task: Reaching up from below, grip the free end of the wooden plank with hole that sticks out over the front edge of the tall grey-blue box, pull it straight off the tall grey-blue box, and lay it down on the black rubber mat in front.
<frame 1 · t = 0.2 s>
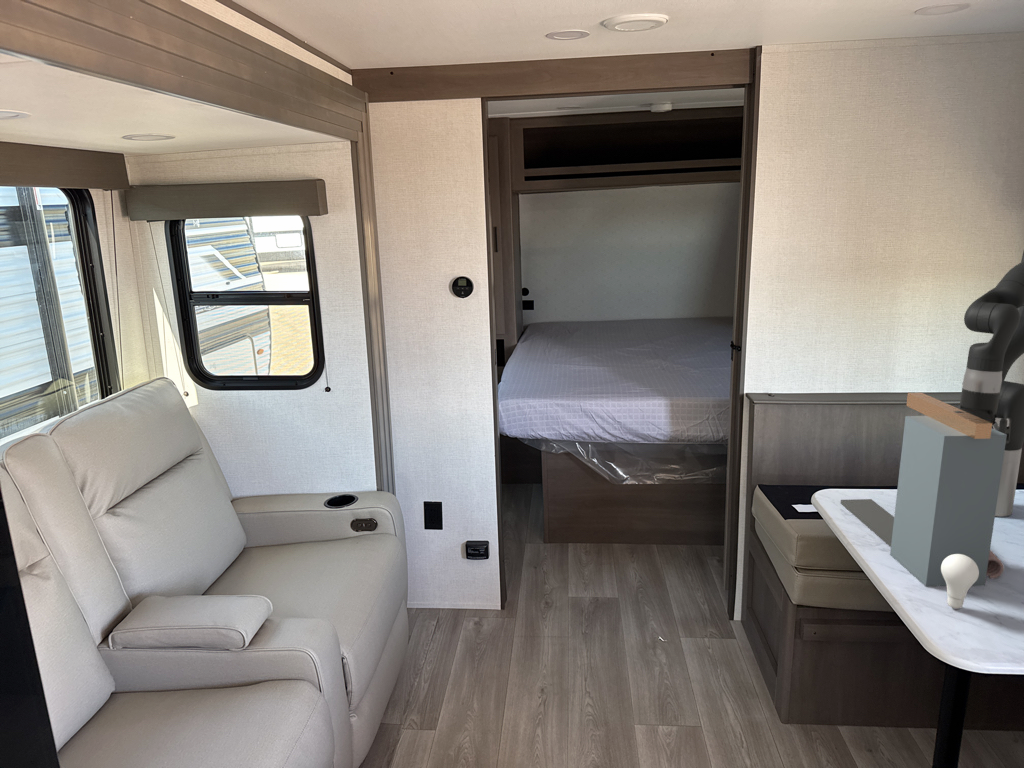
hand: (971, 454, 171), 17 cm above the table, fingers open, 8 cm apart
wooden plank with hole: (945, 420, 148), point 32 cm above the table, touching tall grey-blue box
lightbulb: (954, 609, 138), on the table
coil: (973, 560, 157), on the table
rubber mat: (880, 523, 175), on the table
tall grey-blue box: (935, 569, 153), on the table
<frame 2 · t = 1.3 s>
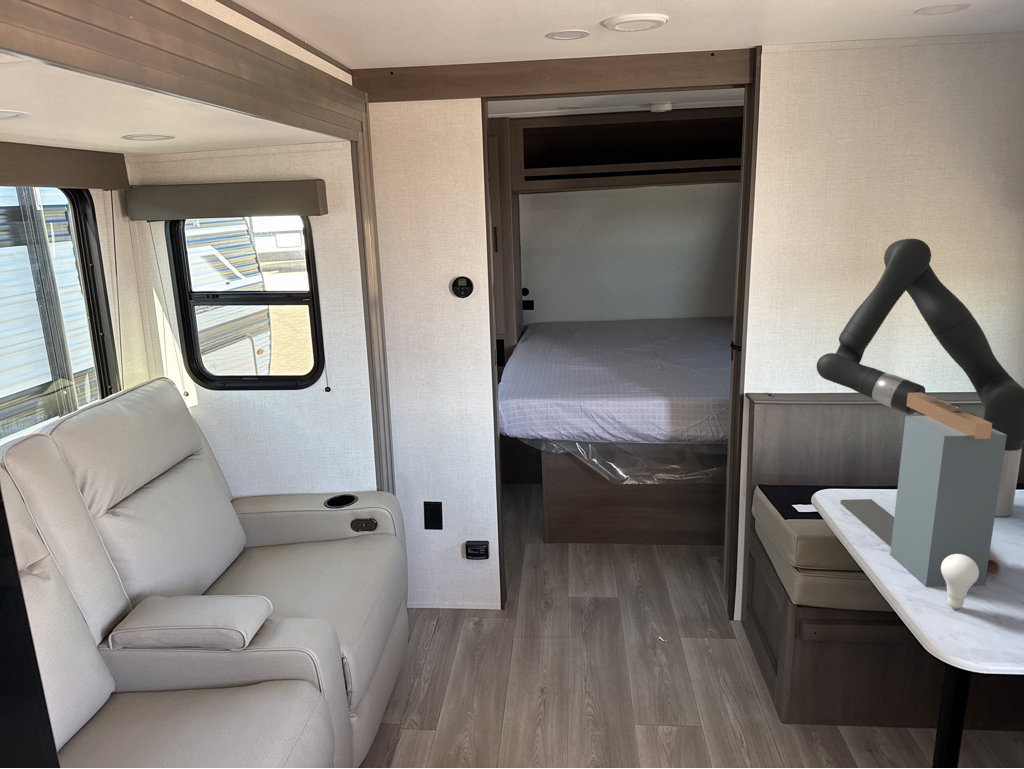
hand: (968, 421, 162), 28 cm above the table, fingers open, 8 cm apart
nothing on the table moved.
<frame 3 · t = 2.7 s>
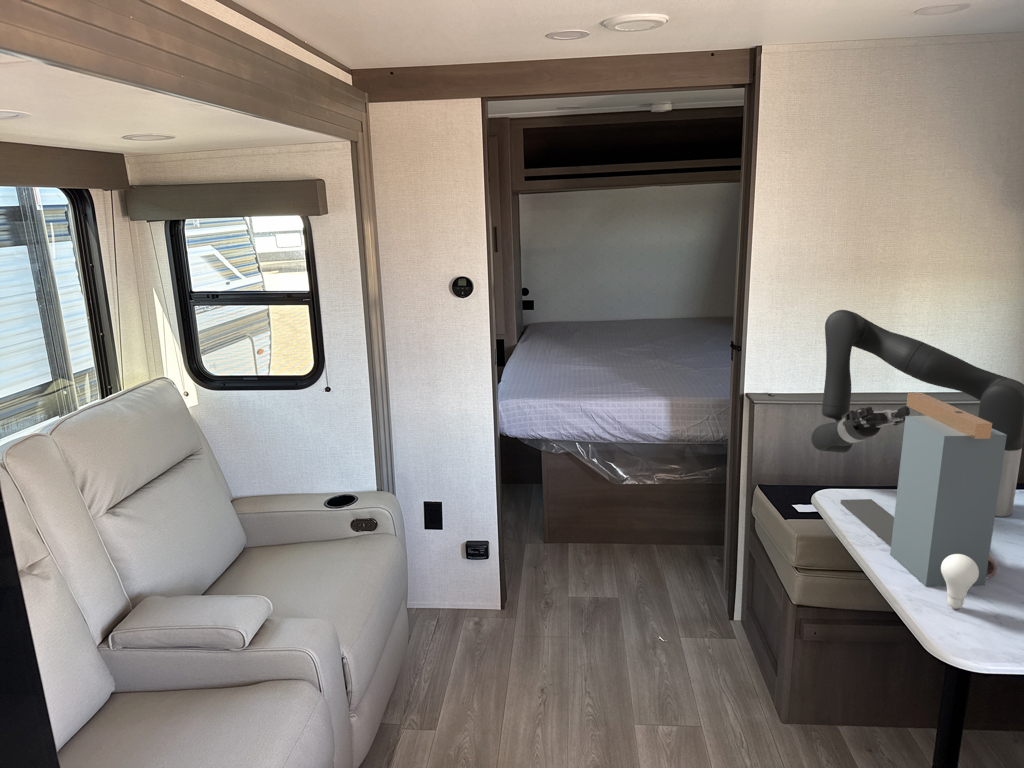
hand: (889, 410, 170), 28 cm above the table, fingers open, 8 cm apart
nothing on the table moved.
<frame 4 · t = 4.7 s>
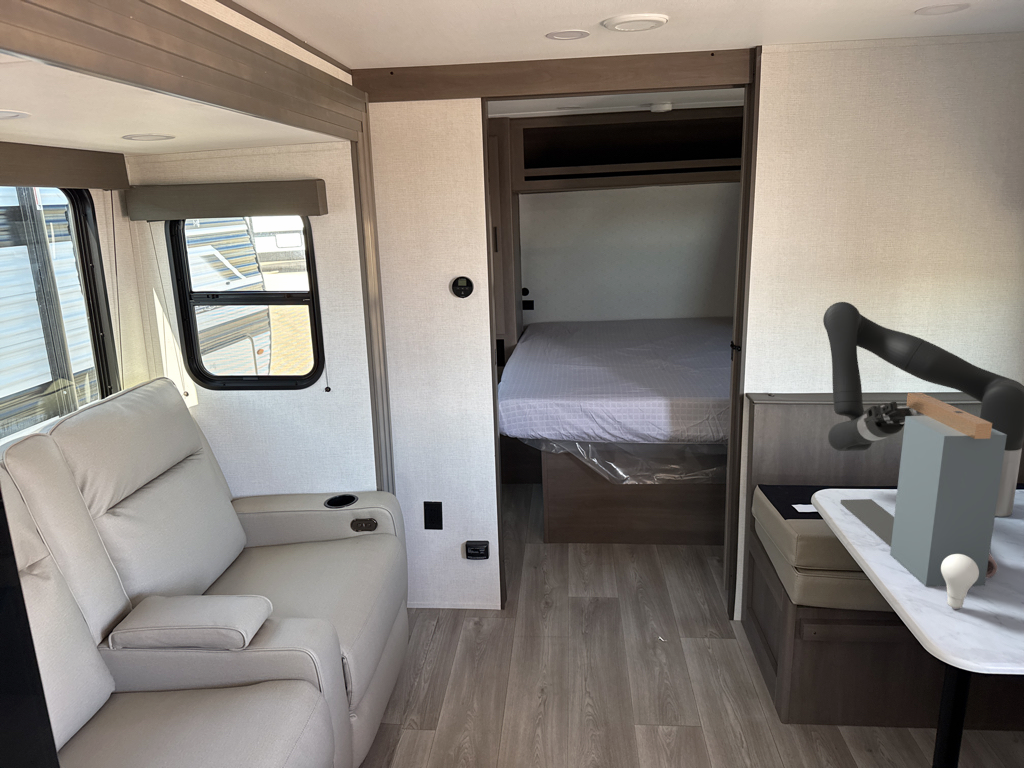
hand: (915, 405, 159), 32 cm above the table, fingers open, 8 cm apart
nothing on the table moved.
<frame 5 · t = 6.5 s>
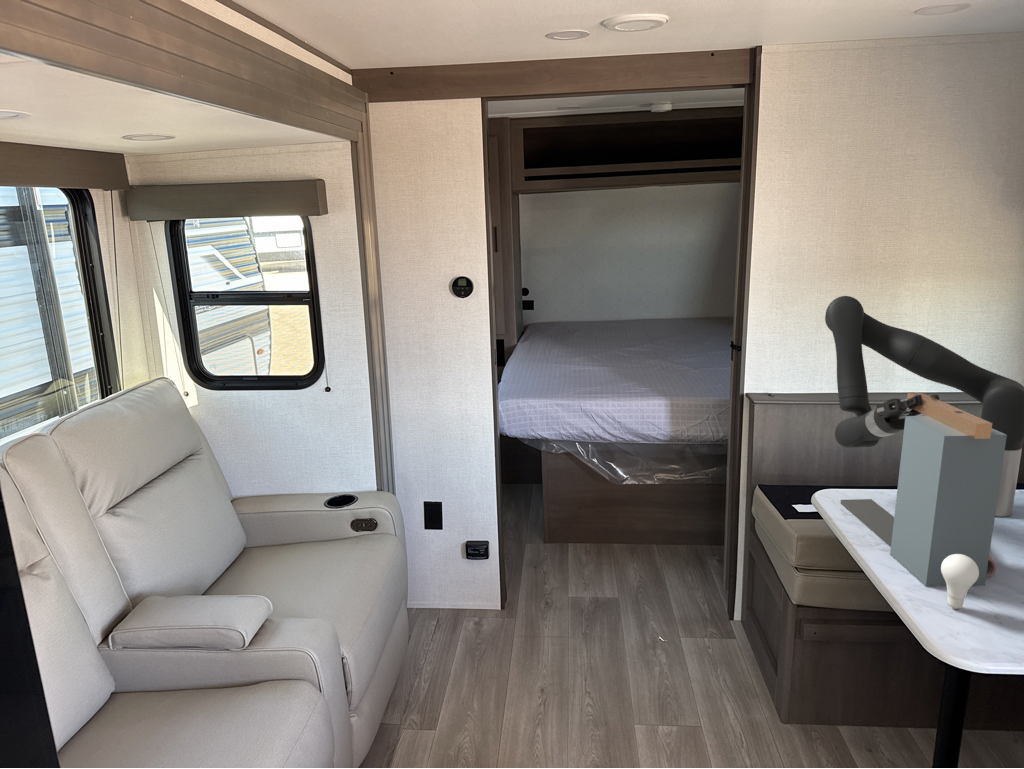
hand: (928, 399, 154), 35 cm above the table, fingers closed on wooden plank with hole, 3 cm apart
wooden plank with hole: (945, 420, 148), point 32 cm above the table, touching gripper, tall grey-blue box
everything else where it was.
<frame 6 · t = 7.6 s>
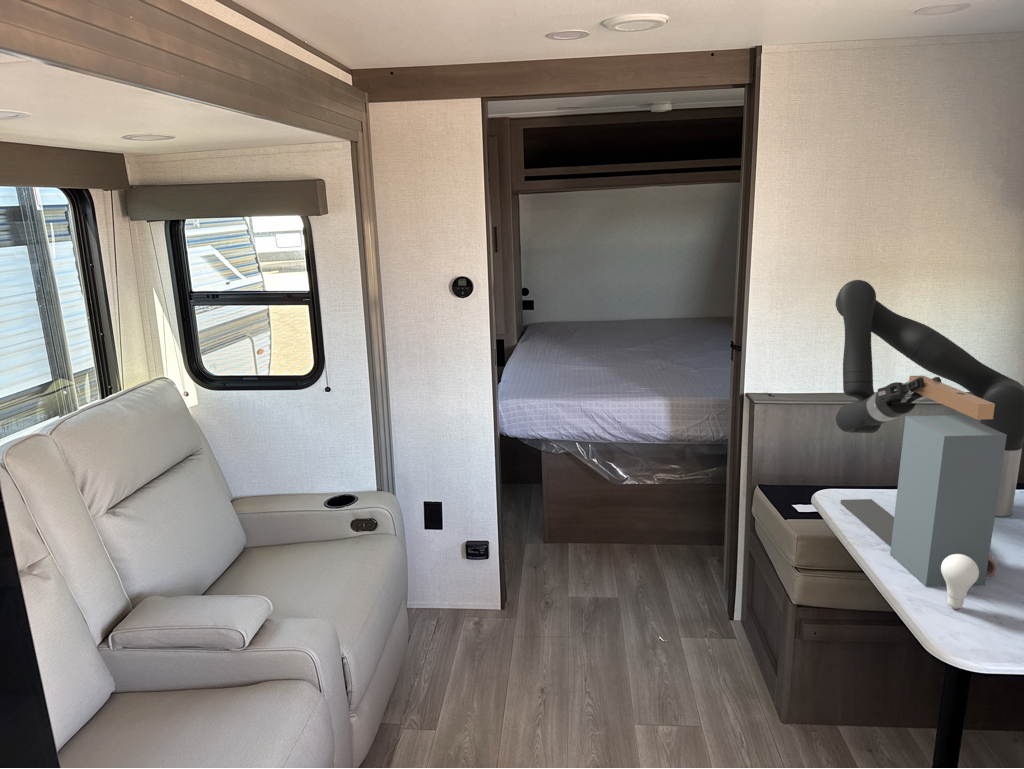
hand: (930, 381, 153), 39 cm above the table, fingers closed on wooden plank with hole, 3 cm apart
wooden plank with hole: (947, 402, 147), point 36 cm above the table, touching gripper
everything else where it was.
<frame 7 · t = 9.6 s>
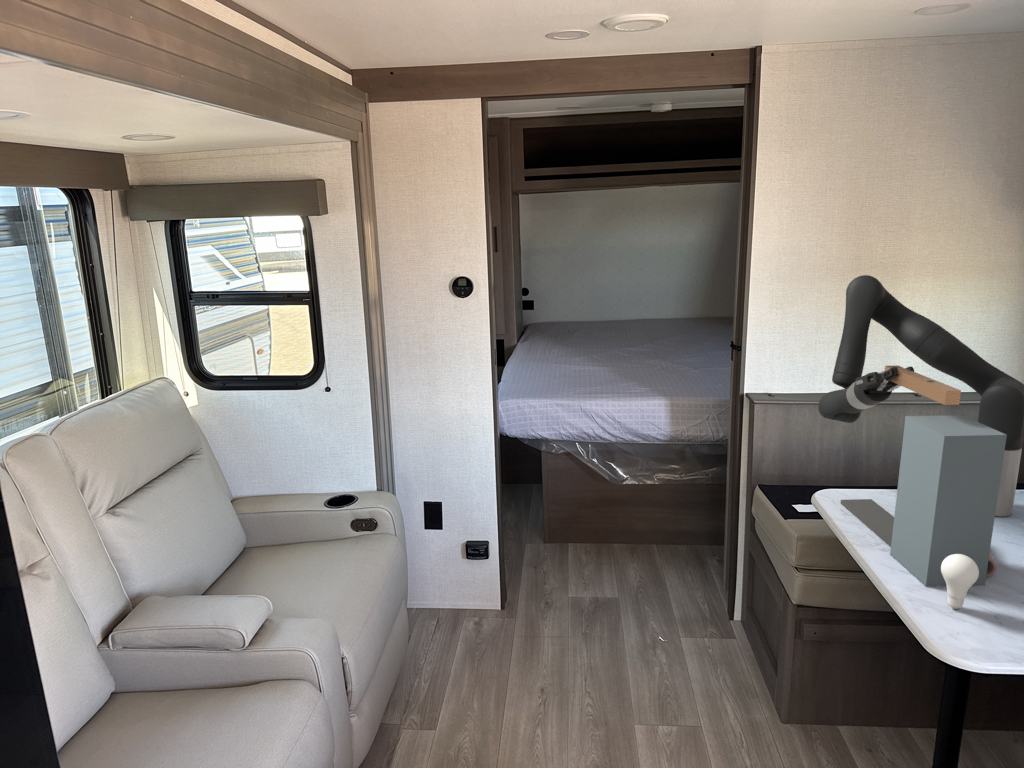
hand: (904, 370, 163), 39 cm above the table, fingers closed on wooden plank with hole, 3 cm apart
wooden plank with hole: (918, 390, 157), point 36 cm above the table, touching gripper
everything else where it was.
when the fingers open (14 cm above the table, at t = 16.7 s): wooden plank with hole drops 7 cm, resting on rubber mat.
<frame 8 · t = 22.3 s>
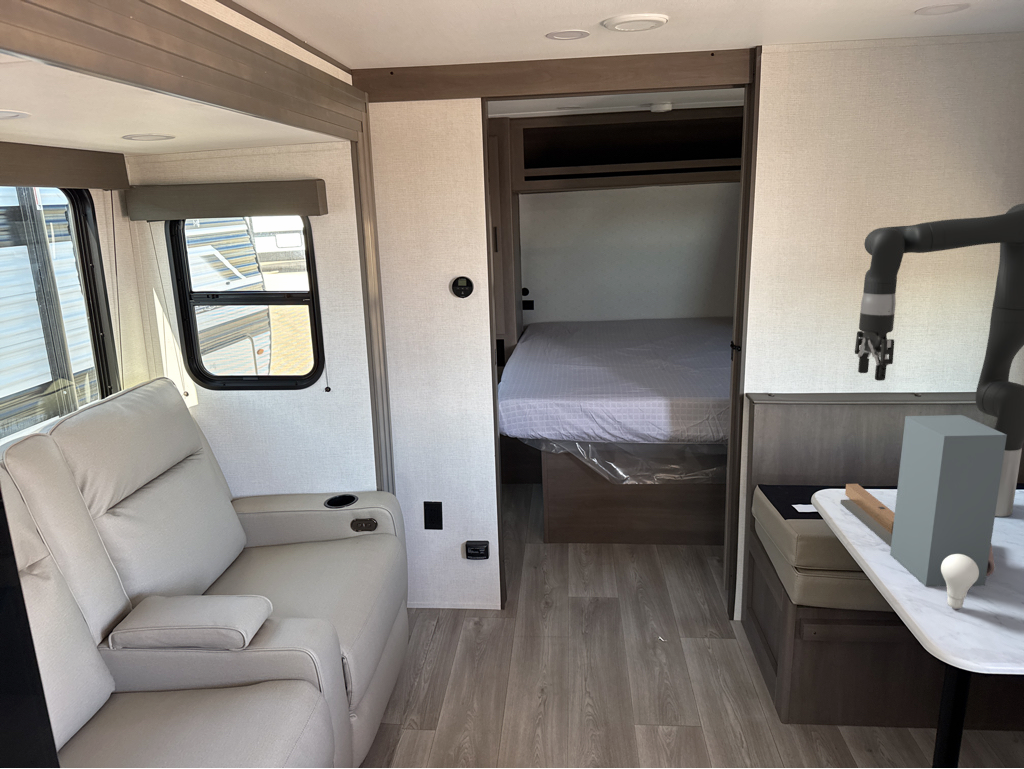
hand: (871, 376, 179), 34 cm above the table, fingers open, 8 cm apart
wooden plank with hole: (872, 512, 179), point 1 cm above the table, touching rubber mat
at the end: wooden plank with hole inside the target area on the rubber mat (2.9 cm from its centre), point 1.0 cm above the rubber mat's base; wooden plank with hole tilted 0°; the gripper is holding nothing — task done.
